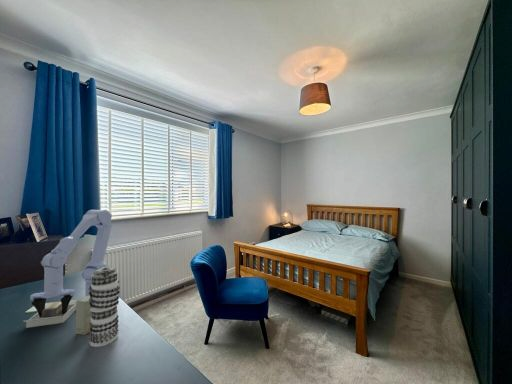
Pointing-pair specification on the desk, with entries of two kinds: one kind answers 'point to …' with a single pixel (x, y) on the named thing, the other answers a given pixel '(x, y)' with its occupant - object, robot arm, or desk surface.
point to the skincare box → (83, 315)
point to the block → (52, 310)
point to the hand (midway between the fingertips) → (53, 314)
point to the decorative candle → (104, 306)
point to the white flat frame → (36, 321)
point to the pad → (32, 309)
